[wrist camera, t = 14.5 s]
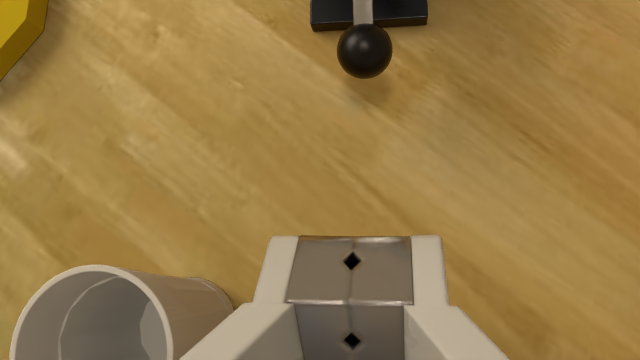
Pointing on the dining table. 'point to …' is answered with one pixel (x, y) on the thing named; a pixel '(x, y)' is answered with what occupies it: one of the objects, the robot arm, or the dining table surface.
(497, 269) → the dining table surface
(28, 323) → the cup
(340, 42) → the lever with ball knob
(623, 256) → the dining table surface
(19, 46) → the decorative disc
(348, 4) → the black lever stand
